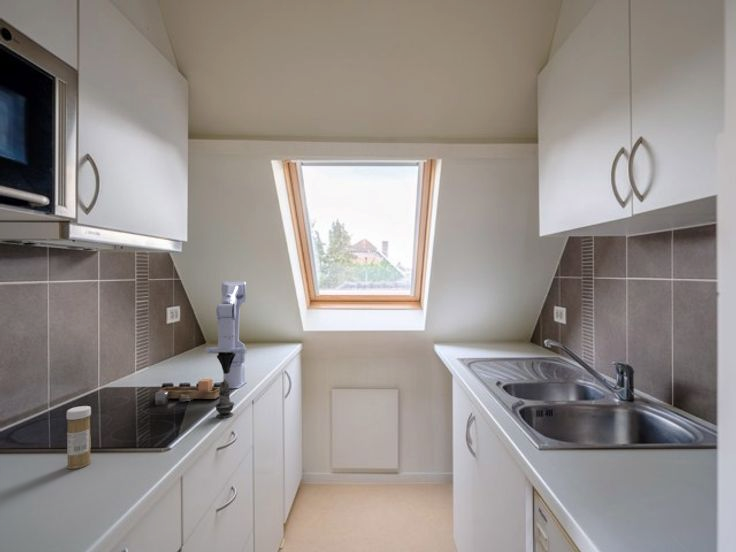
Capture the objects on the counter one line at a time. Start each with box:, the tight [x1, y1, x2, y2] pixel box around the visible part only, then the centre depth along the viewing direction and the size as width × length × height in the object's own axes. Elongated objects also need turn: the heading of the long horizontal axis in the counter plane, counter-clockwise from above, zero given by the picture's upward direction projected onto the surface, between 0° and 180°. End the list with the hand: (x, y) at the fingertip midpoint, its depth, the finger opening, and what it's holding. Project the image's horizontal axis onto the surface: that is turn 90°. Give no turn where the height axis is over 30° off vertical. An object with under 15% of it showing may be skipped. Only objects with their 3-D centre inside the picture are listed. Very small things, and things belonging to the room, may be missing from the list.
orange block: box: [197, 378, 213, 391], centre depth 140 cm, size 4×3×4 cm
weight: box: [154, 391, 169, 407], centre depth 135 cm, size 4×4×4 cm
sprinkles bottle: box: [66, 405, 92, 470], centre depth 89 cm, size 5×5×14 cm
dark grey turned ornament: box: [214, 378, 235, 419], centre depth 122 cm, size 6×6×12 cm
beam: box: [155, 386, 220, 403], centre depth 140 cm, size 22×7×4 cm, turn 86°
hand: (226, 373), depth 139 cm, fingers closed
